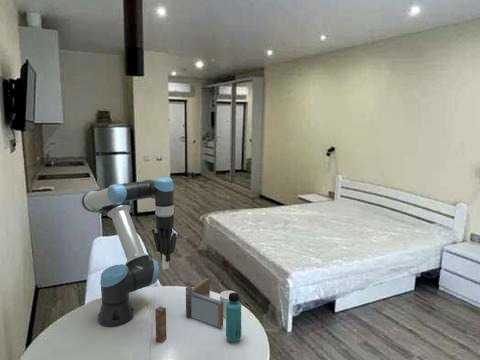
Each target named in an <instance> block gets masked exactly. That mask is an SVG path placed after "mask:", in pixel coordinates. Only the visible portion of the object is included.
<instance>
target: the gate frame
mask: <svg viewBox="0 0 480 360" xmlns="http://www.w3.org/2000/svg"><path fill="white" fill-rule="evenodd" d="M210 282H211V280H210V278H209V277H206V278H204V279H203V280H202V281H201V282H199V283H198V284H197V285H195V286H194V287H192V286H186V287H185V317H186V319H192V318H193V317H192V316H191V294H192V292H194V293H197V294H200V295H203V296H206V297H209V298H211V297H210V296H211V293H210V291H211V288H210V287H211V286H210V285H211V283H210ZM154 313H155V314H154V316H155V317H154V319H155V342H157V343H159V344H163V343H164V342H166V340H167V338H168V337H167V336H168V335H167V308H166V307H164V306H162V305H159V306H158V307H157V308H155V310H154Z"/></svg>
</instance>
